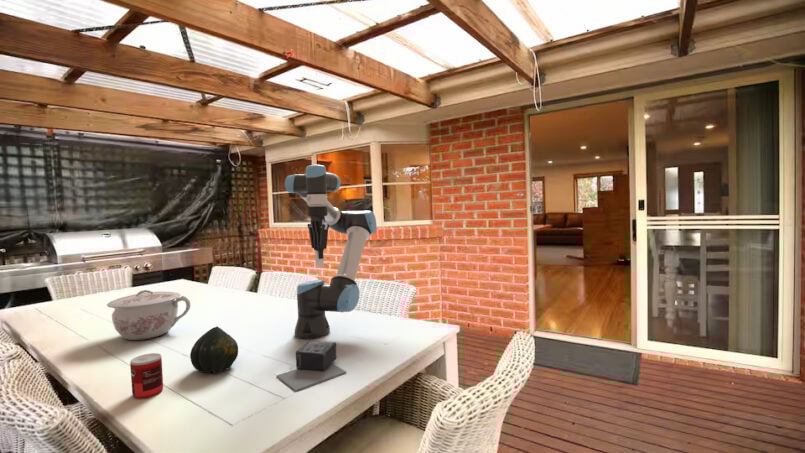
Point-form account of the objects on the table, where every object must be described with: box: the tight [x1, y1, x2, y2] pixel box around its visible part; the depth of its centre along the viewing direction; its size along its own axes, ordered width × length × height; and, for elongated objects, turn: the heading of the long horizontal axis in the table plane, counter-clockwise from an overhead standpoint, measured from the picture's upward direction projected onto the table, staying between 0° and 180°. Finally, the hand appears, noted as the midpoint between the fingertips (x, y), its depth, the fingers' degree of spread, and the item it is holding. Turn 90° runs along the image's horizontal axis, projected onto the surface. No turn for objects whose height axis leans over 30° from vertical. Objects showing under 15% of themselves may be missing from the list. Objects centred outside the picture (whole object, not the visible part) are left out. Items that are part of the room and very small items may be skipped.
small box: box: [295, 340, 337, 371], centre depth 129 cm, size 11×6×10 cm
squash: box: [189, 325, 239, 374], centre depth 130 cm, size 14×15×15 cm
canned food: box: [129, 352, 164, 400], centre depth 113 cm, size 8×8×11 cm
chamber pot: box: [106, 289, 192, 341], centre depth 168 cm, size 28×28×21 cm
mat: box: [276, 363, 347, 392], centre depth 123 cm, size 14×18×1 cm
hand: (319, 266), depth 143 cm, fingers closed
